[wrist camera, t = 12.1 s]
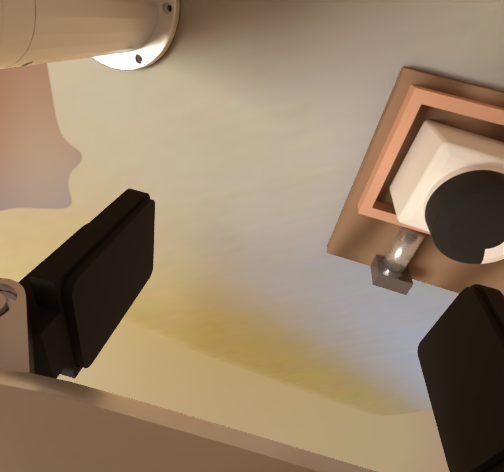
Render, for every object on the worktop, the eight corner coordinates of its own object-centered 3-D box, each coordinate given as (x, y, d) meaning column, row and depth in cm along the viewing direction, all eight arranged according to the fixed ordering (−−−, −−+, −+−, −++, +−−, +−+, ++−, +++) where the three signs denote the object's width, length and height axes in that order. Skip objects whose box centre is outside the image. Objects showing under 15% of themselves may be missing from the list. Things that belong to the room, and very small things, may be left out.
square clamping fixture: (327, 245, 40) (325, 271, 36) (402, 66, 29) (411, 73, 25) (493, 296, 38) (511, 329, 34) (643, 127, 27) (697, 146, 23)
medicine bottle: (387, 188, 33) (405, 257, 23) (424, 117, 29) (465, 165, 19) (457, 210, 33) (505, 290, 23) (505, 141, 29) (588, 203, 19)
